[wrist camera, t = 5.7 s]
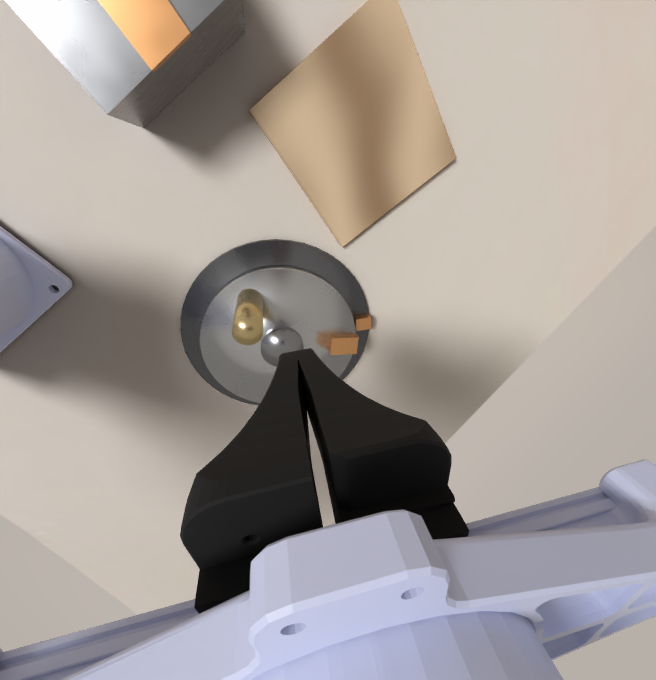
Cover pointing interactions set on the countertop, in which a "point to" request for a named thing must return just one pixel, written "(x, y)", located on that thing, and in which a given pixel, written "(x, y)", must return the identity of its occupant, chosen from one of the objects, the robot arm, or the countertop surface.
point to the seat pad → (358, 121)
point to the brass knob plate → (273, 326)
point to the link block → (134, 46)
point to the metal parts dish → (257, 257)
